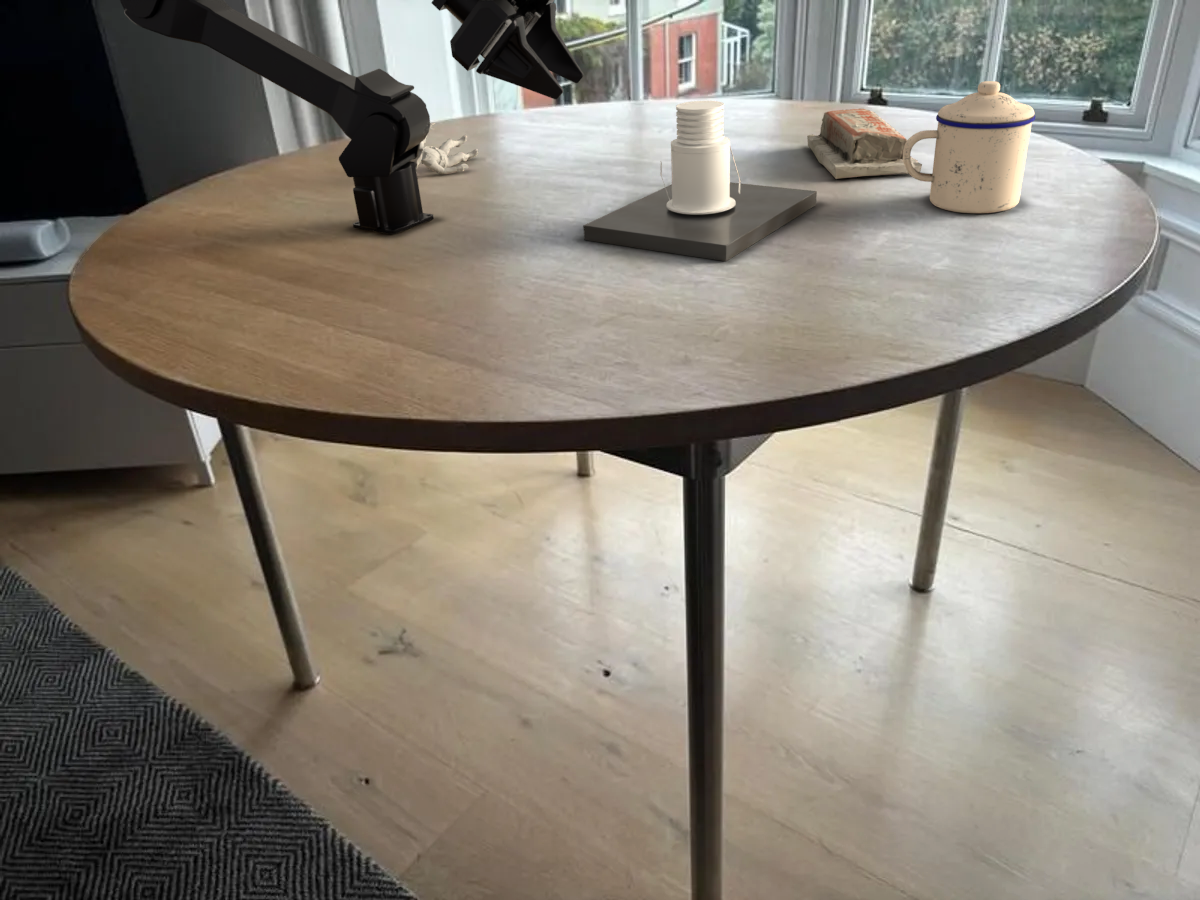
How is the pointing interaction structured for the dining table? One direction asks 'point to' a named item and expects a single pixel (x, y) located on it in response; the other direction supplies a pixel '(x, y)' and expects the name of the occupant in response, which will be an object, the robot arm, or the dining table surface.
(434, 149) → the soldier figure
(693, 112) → the downlight
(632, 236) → the slate board
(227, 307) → the dining table surface
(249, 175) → the dining table surface
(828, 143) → the packaged product
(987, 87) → the teacup with lid
